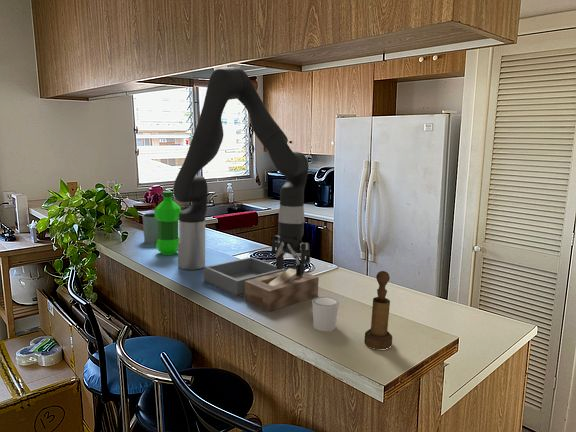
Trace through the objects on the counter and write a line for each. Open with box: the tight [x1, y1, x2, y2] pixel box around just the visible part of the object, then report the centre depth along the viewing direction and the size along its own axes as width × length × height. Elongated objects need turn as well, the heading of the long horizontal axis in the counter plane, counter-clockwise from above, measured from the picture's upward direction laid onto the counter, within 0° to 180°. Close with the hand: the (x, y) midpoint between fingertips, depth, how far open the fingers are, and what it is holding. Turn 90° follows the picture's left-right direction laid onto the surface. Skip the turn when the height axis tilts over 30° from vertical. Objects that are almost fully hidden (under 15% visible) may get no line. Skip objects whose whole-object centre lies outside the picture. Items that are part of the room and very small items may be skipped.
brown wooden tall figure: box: [363, 270, 393, 350], centre depth 104 cm, size 7×6×18 cm
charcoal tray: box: [203, 256, 287, 298], centre depth 146 cm, size 20×18×5 cm
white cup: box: [311, 296, 340, 332], centre depth 114 cm, size 7×7×7 cm
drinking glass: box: [141, 212, 158, 245], centre depth 196 cm, size 10×10×12 cm
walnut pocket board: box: [243, 268, 320, 312], centre depth 133 cm, size 20×11×6 cm, turn 133°
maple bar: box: [268, 267, 300, 286], centre depth 132 cm, size 12×4×2 cm, turn 133°
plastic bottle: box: [153, 190, 182, 256], centre depth 176 cm, size 10×10×25 cm
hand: (289, 272), depth 134 cm, fingers open, 8 cm apart
